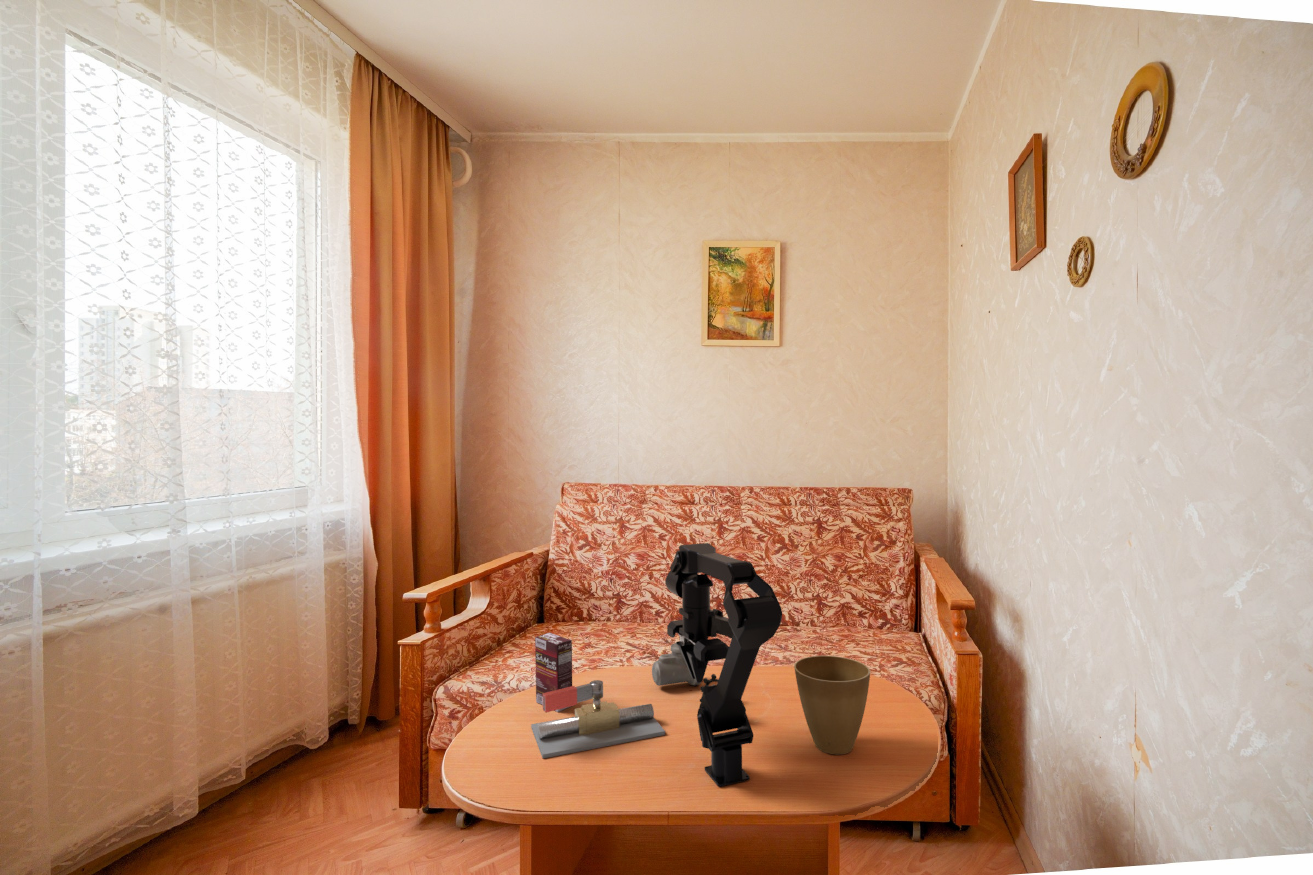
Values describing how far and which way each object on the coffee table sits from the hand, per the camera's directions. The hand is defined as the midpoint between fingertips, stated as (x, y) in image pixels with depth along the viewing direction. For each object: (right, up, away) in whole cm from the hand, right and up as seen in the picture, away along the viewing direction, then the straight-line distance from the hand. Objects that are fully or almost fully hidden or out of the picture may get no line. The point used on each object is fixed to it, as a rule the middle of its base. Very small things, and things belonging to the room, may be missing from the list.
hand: (697, 680), depth 128 cm
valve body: (-21, -13, +6) cm, 26 cm away
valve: (+6, -13, +15) cm, 21 cm away
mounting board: (-21, -13, +6) cm, 26 cm away
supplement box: (-33, -14, +20) cm, 41 cm away
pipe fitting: (-3, -13, +30) cm, 33 cm away
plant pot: (+27, -13, -2) cm, 30 cm away
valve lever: (-26, -6, +3) cm, 27 cm away
